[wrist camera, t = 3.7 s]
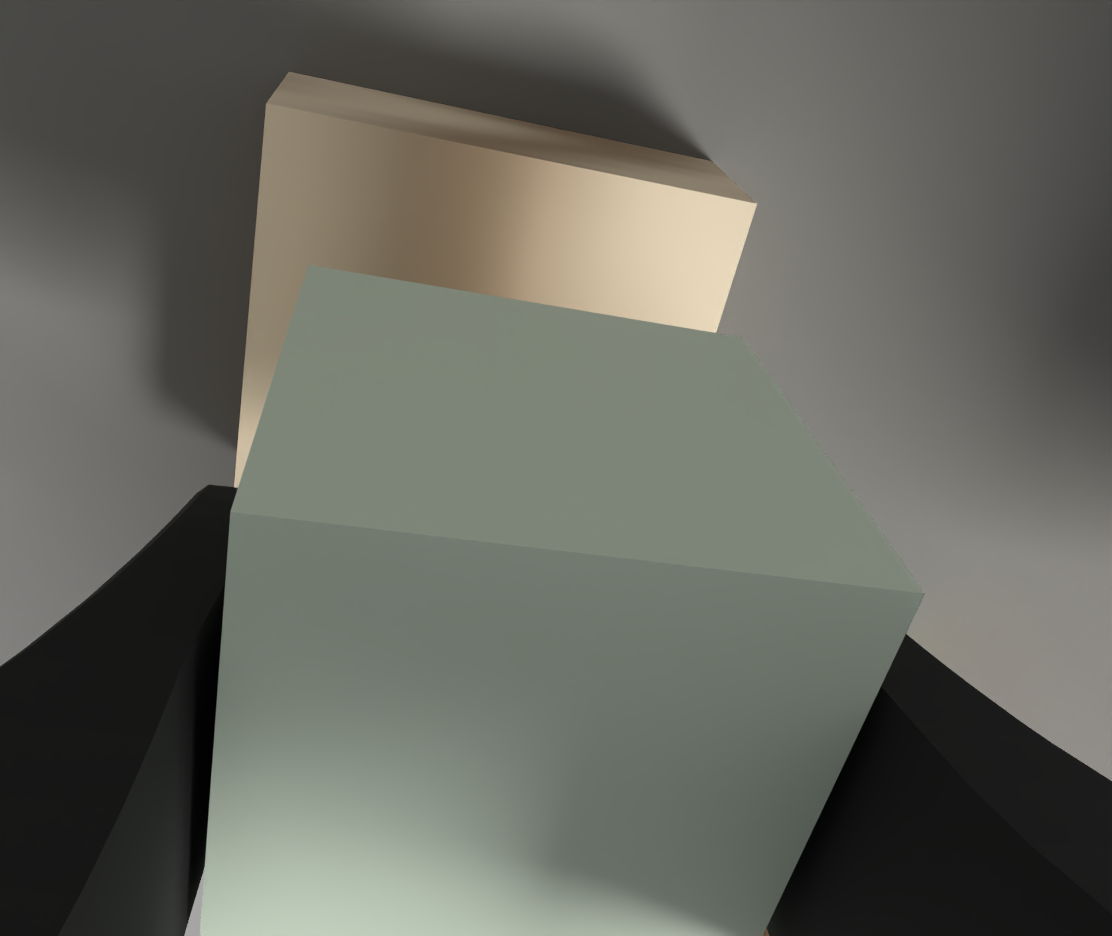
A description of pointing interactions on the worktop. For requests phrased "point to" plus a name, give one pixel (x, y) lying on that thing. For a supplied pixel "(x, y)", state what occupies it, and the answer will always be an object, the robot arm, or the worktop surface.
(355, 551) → the sage cube
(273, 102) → the beech block
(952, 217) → the worktop surface
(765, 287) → the worktop surface
